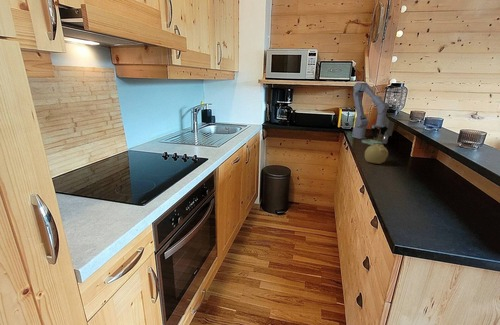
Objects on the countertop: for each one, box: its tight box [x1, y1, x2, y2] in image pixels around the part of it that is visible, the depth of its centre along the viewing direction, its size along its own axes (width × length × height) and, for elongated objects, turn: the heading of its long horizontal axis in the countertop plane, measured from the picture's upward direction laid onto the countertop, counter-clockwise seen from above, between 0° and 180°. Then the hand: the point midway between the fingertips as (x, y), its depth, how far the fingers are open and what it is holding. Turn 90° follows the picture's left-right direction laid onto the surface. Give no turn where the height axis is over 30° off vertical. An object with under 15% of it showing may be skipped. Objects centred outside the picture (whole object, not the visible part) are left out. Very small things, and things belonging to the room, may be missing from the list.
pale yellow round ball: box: [364, 144, 389, 165], centre depth 147 cm, size 11×12×11 cm
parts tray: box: [360, 138, 384, 146], centre depth 193 cm, size 12×9×2 cm
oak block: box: [373, 132, 383, 142], centre depth 200 cm, size 4×4×6 cm
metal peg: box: [381, 135, 389, 145], centre depth 194 cm, size 4×4×6 cm
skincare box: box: [379, 116, 395, 137], centre depth 222 cm, size 8×7×16 cm
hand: (378, 137), depth 199 cm, fingers open, 7 cm apart
